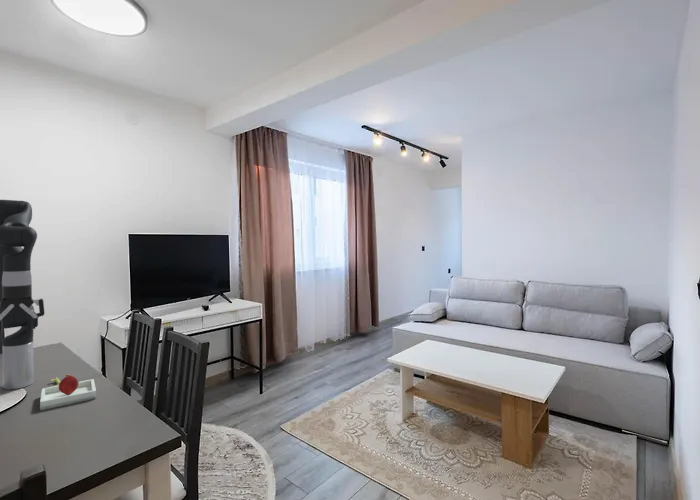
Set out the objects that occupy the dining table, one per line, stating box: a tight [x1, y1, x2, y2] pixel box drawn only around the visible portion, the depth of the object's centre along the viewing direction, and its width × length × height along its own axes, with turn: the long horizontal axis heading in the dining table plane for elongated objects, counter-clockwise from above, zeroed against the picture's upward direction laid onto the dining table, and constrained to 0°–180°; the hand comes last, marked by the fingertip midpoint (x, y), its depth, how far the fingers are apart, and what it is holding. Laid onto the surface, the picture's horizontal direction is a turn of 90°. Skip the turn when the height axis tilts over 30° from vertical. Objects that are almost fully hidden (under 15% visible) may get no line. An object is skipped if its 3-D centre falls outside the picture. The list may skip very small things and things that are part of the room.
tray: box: [39, 378, 97, 411], centre depth 136 cm, size 14×16×3 cm
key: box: [49, 377, 61, 387], centre depth 146 cm, size 7×12×2 cm, turn 69°
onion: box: [59, 373, 79, 395], centre depth 136 cm, size 6×6×8 cm
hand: (17, 330), depth 125 cm, fingers open, 8 cm apart
